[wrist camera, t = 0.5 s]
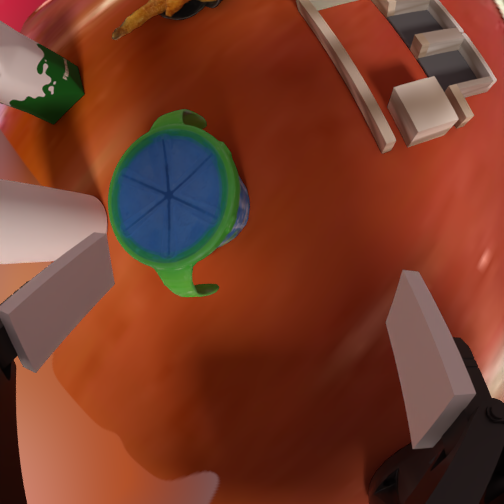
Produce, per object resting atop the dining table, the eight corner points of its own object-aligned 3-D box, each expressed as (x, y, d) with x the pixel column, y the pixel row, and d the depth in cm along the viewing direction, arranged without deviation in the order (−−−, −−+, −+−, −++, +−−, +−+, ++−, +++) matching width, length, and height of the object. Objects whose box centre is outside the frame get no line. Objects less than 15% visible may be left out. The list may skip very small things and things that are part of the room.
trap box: (499, 115, 23) (519, 97, 18) (381, 153, 27) (390, 136, 22) (407, -14, 24) (412, -40, 20) (298, 10, 28) (291, -17, 23)
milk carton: (45, 96, 39) (-47, 59, 19) (82, 59, 36) (-10, 6, 17) (51, 133, 38) (-56, 99, 18) (91, 93, 36) (-18, 39, 16)
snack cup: (265, 291, 30) (232, 312, 20) (167, 284, 33) (105, 298, 23) (268, 130, 30) (238, 82, 20) (173, 139, 32) (116, 106, 22)
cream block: (443, 135, 25) (458, 119, 21) (407, 147, 26) (418, 132, 22) (423, 96, 25) (434, 76, 21) (387, 107, 27) (393, 87, 22)
